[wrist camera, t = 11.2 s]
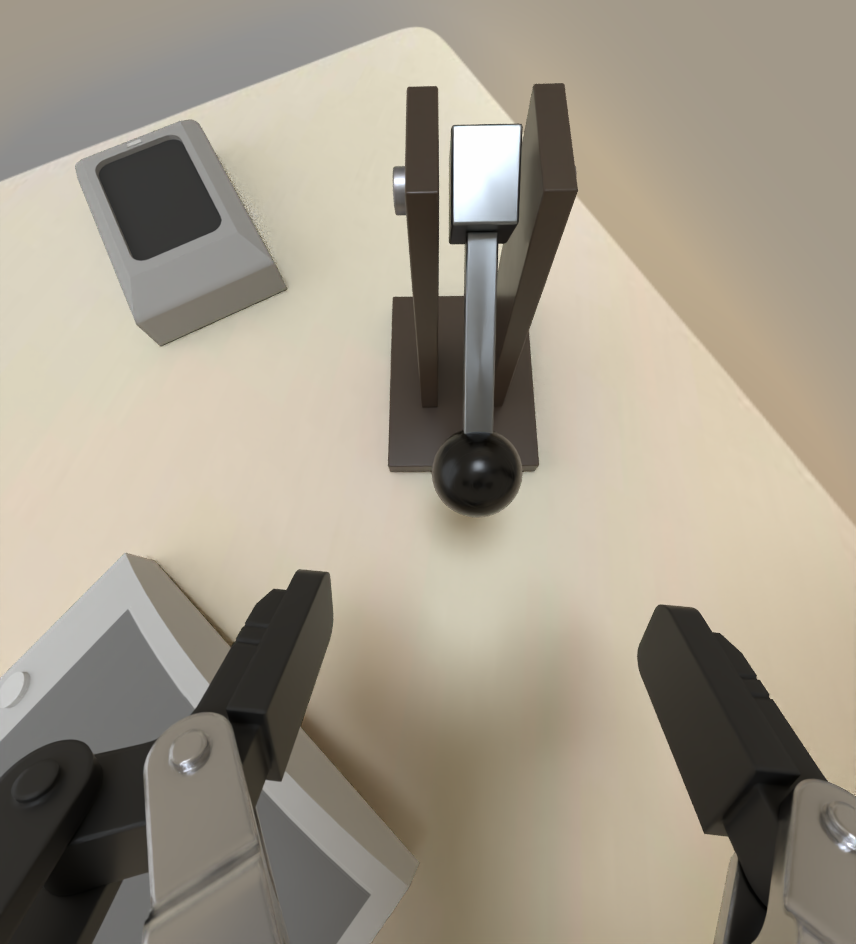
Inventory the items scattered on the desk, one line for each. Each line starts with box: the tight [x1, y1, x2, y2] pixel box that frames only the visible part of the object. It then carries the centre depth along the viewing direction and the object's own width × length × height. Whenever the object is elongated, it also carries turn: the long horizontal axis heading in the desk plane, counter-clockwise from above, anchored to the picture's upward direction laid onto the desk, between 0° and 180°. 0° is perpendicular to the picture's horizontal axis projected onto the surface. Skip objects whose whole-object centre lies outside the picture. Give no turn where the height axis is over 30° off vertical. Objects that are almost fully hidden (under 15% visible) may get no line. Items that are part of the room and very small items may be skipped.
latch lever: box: [432, 124, 523, 517], centre depth 16 cm, size 13×4×4 cm, turn 179°
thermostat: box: [0, 553, 419, 944], centre depth 19 cm, size 11×21×6 cm, turn 50°
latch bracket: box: [388, 83, 578, 472], centre depth 20 cm, size 12×9×16 cm
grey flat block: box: [75, 120, 287, 346], centre depth 30 cm, size 10×4×15 cm
